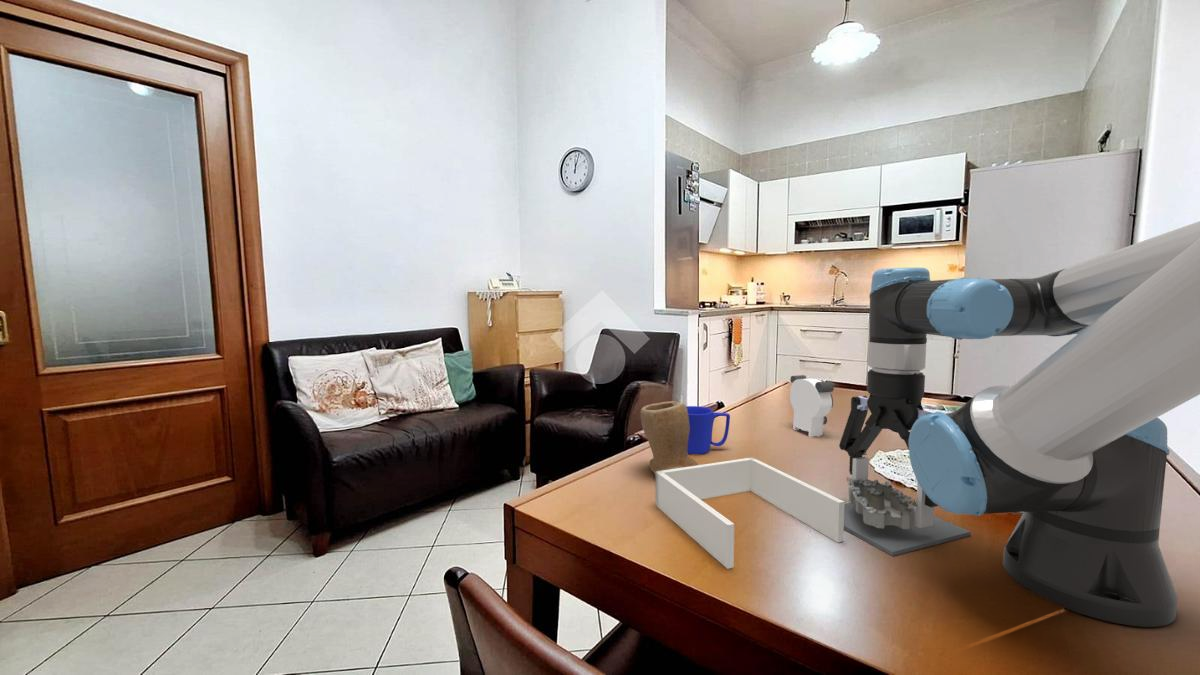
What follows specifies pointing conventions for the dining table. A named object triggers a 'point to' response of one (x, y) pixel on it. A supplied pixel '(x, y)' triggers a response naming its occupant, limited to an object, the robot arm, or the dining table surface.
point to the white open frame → (711, 529)
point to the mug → (703, 429)
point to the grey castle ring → (881, 503)
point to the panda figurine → (810, 403)
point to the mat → (901, 533)
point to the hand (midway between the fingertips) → (889, 509)
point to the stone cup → (667, 435)
